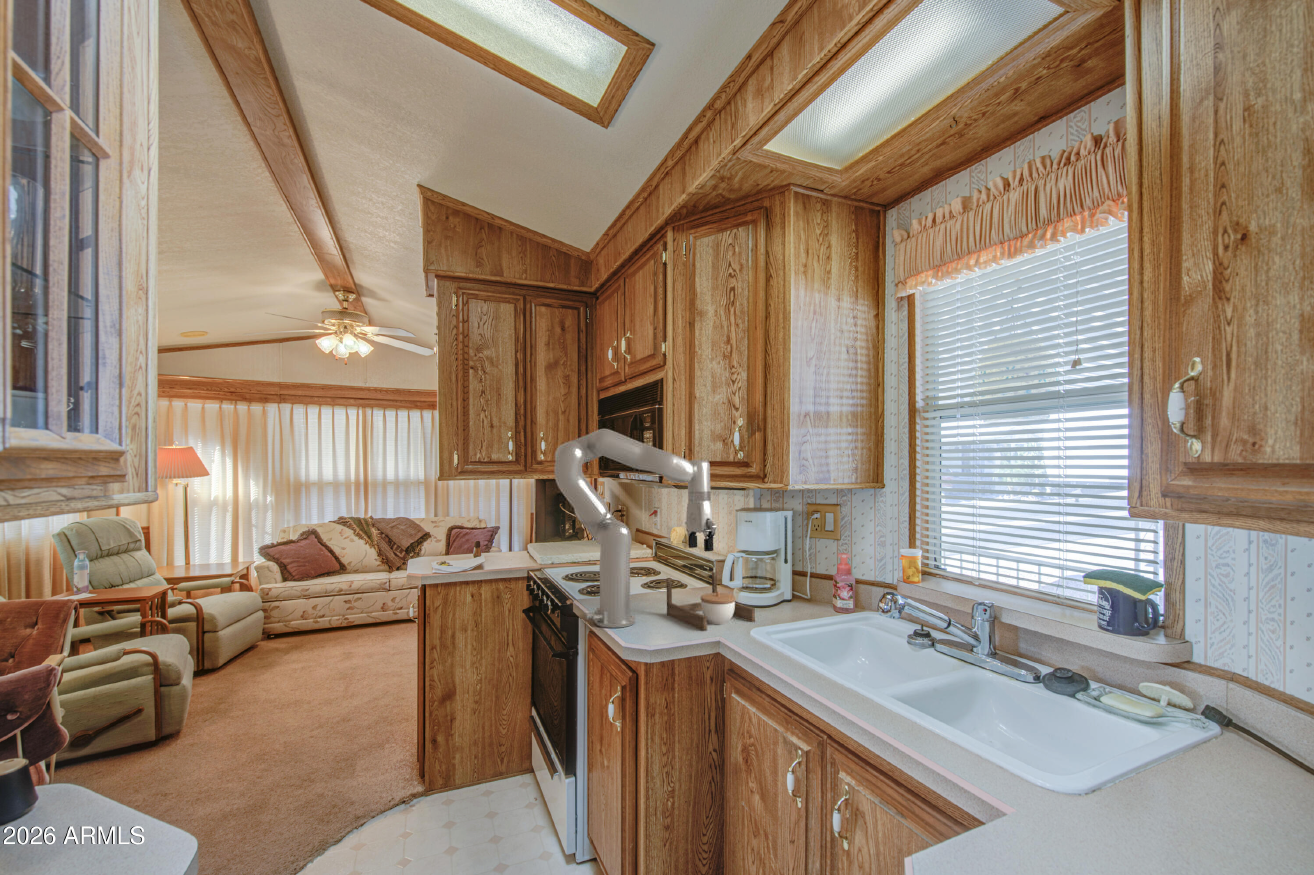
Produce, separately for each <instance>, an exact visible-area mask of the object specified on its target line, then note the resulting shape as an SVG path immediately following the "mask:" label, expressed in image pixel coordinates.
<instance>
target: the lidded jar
mask: <svg viewBox="0 0 1314 875" xmlns="http://www.w3.org/2000/svg"><path fill="white" fill-rule="evenodd" d="M700 602H701V606H702V611H701V612H702V615H704V616H706V617H707V622H708V623H710V624H712V625H713V624H714V625H726V624H728V623H729V622H730V620H731V619H732V618H733V616H734V615H733V614H734V610H735V602H736V596H735V595H734V594H730V593H724V592H720V590H717V591H716V593H712V592H709V593H705V594H702V595H701V596H700Z"/></svg>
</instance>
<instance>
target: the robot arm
mask: <svg viewBox="0 0 1314 875" xmlns="http://www.w3.org/2000/svg"><path fill="white" fill-rule="evenodd" d="M602 456H603V457H605V458H608V459H611V460H612V461H615V462H618V463H621V464H623V465H626V466H627V467H628V466H629V467H631V468H633V469H636V470H641V471H647V472H648V471H649V472H653V473H655V474H659V475H661V476H663V477H664V479H665V480H667V481H668V482H670V483H674V484H675V483H676V484H679V483H680V484H683V483H684V484H686V483H687V503H686V504H687V506H686V514H685V515H686V517H685V522H684V523H685V524H684V525H685V529H686V531H687V534H686V535H687V538H688V540H687V541H688V544H687V545H688V549H695V548H698V535H697V533H699V534H701V533H702V534H703V537H704V538H703V550H704V552H707V553H708V552H713V551H714V538H715V535H716V530H717V525H716V524H715V523H714V520H713V518H714V516H713V508H712V504H711V503H712V502H711V501H712V497H711V496H712V495H711V464H710V462H709V460H706V459H697V460H696V459H695V460H688V459H686V458H684V457H681V456H679V455H676V454H674V453H671V452H669V451H666V450H663V449H659V448H657V447H655V446H652V445H649V444H647V443H644V442H641V441H638V440H636V439H633V438H631V437H628V436H626V435H624V434H621V433H620V432H616V431H615V430H611V429H608V428H600V429H597V430H595V431H593V432H591V433H589V434H586V435H584V436H580V437H578V438H576V439H573V440H570V441H566V442H565V443H562V444H560V445H559V446H558V447H557V448H556V450H555V452H554V460H555V462H554V470H553V471H554V472H553V473H554V478H555V483H556V485H557V487H558V489H559V490H560V491H561V493H562V495H563V496H564V497H565V498H566V499H567V501H568V502H569V503H570V505H571V506H572V508H573V510H574V514H575V516H576V517H577V519H578V520H579V522H580V523H581V525H582V526H583V527H584V528H585V529H586V530H587V532H588V533H589V534H590V535H591V537H592V538H593V539H594V540H595V541H596V542H597V543H598V544H599V546H600V552H599V553H600V554H599V607H597V608H596V610H594V612H586V613H585V614H584V618H585V620H593V621H594V624H595V625H596V626H598V627H602V628H609V629H610V628H613V629H614V628H615V629H616V628H617V629H618V628H623V627H624V628H625V627H629V626H633V625H634V624H635V623H636V617H635V616H634V615H632V614H631V549H632V533H631V531H630V529H629V527H628V526H627V525H626V524H625V523H624V522H622V521H619V520H617V519H616V518H615V517H614V515H613V514H612V513H611V511H610V510H609V508H608V504H607V502H606V501H605V500H604V498H603V497H602V496H601V495H600V494H599V493H598V491H597V490H596V489H595V487H593V486H592V484H591V483H590V482H589V480H588V479H587V477H586V476H585V474H584V472H583V464H585V463H588V462H590V461H593V460H596V459H598V458H600V457H602Z"/></svg>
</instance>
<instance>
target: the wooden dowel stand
mask: <svg viewBox="0 0 1314 875" xmlns="http://www.w3.org/2000/svg"><path fill="white" fill-rule="evenodd" d="M672 580H673V579H672V578H671V577H666V615H667V616H668V615H669V616H668V617H670V616H671V618H672V617H673V619H675V620H677V619H678V620H677V621H680V622H682V623H684V624H686V625H689V626H691V627H693V628H696V629H698V630H700V631H703V632H706V631H708V620H707V617H706V616H704V614H701V613H698V612H702V606H701V601H699V602H694V603H688V604H681V605H678V604H675V603H673V599H672V598H673V592H672V591H673V589H672V588H673V587H672ZM711 588H712V589H711V590H712V591H711V593H716V591H718V573H717V572H715V571H714V572H711ZM755 611H756V609H755V608H754V607H751V606H748V605H746V604H745V605H744V604H742V603H739V602H736V601H735V610H734V614H733V616H734V615H735V616H734V617H737V618H739V617H740V618H739V619H742V618H743V620H745V619H746V620H745V621H748V622H750V623H754V622H756V612H755Z"/></svg>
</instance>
